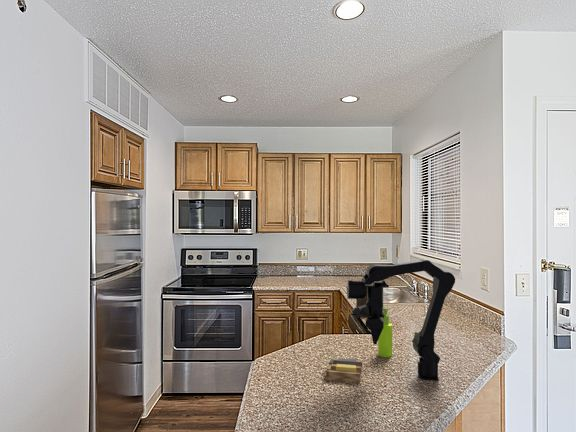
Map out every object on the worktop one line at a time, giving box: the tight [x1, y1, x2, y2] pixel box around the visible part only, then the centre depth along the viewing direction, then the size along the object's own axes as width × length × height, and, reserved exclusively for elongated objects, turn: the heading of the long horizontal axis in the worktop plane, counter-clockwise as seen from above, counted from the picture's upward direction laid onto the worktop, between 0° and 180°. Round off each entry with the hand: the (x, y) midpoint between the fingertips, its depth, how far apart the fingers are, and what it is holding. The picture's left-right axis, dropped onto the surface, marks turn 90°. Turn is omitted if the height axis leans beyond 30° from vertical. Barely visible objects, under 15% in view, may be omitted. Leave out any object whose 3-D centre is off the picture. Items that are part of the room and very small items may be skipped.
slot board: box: [325, 358, 363, 384], centre depth 154 cm, size 12×14×3 cm
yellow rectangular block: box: [336, 364, 356, 373], centre depth 151 cm, size 7×3×3 cm, turn 77°
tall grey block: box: [337, 357, 358, 366], centre depth 157 cm, size 7×3×3 cm, turn 80°
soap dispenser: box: [377, 306, 393, 358], centre depth 177 cm, size 6×7×20 cm
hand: (375, 341), depth 153 cm, fingers open, 6 cm apart
